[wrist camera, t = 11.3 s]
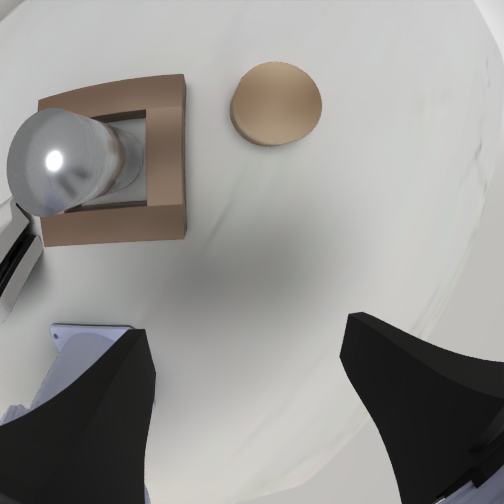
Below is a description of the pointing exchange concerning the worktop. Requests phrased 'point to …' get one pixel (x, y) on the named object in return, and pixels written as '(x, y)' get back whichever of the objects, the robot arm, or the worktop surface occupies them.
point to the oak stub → (275, 104)
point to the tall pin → (68, 161)
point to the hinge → (14, 254)
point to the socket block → (157, 163)
